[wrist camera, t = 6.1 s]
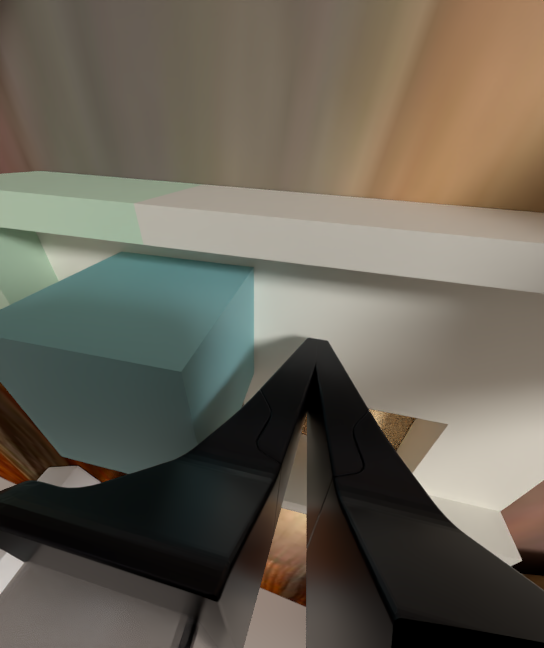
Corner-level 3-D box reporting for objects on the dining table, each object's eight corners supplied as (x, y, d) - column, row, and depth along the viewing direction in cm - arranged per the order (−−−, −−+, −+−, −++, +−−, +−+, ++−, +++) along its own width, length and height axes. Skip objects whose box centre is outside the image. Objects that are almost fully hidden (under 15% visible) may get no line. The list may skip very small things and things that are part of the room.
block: (253, 267, 9) (180, 372, 5) (254, 373, 12) (209, 494, 7) (121, 251, 9) (-43, 329, 5) (152, 354, 12) (61, 456, 8)
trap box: (741, 229, 7) (1071, 295, 4) (474, 481, 16) (509, 566, 13) (40, 170, 10) (-94, 181, 7) (135, 406, 19) (94, 459, 16)
